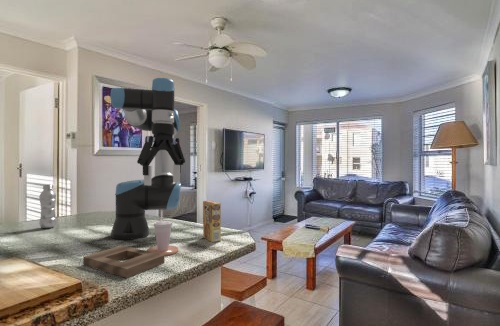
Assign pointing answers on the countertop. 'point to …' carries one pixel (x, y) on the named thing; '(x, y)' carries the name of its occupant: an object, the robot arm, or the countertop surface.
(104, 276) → the countertop surface
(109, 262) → the frame
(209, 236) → the candy box
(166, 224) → the smoothie
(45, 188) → the plastic bottle
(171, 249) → the glossy peach dome
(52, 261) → the countertop surface
